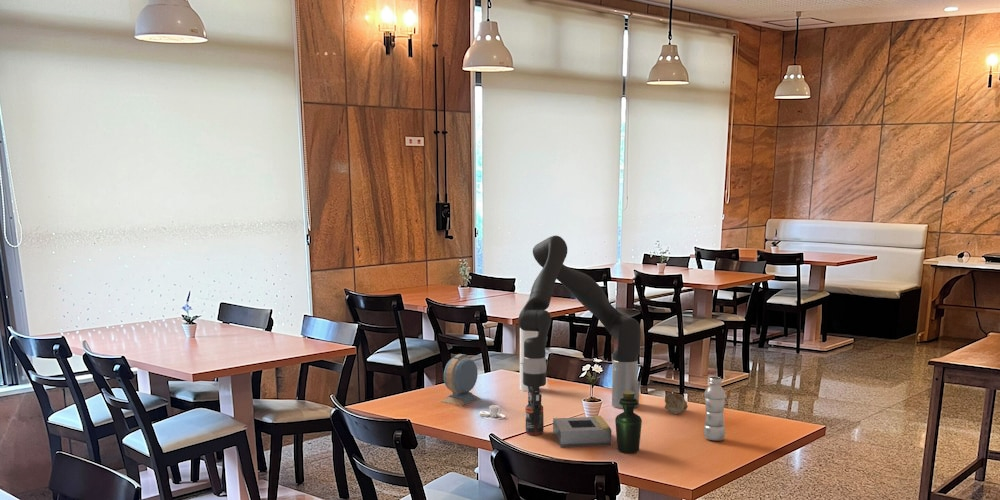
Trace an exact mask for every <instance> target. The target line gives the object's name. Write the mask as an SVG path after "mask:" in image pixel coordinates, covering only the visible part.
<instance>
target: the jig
mask: <svg viewBox="0 0 1000 500" xmlns="http://www.w3.org/2000/svg"><path fill="white" fill-rule="evenodd" d="M612 431H613V430H612V428H611V427H610V425H609V424H608V423H607V422H606V420H605V419H604V418H603V416H602V415H593V416H589V417H588V416H585V417H556V418H554V417H553V420H552V434H553V436H554V437H555V438H554V439H556V441H557V443H558V445H559V447H560V448H575V447H577V448H578V447H580V448H582V447H602V446H603V447H605V446H612Z"/></svg>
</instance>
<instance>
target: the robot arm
mask: <svg viewBox="0 0 1000 500" xmlns="http://www.w3.org/2000/svg"><path fill="white" fill-rule="evenodd" d="M532 255H533V258H534V260H535V261H536V262H537V264H538V265H539V266H541V267H542V268H541V270H540V272H539V274H538V275H537V276H536V278H535V280H534V282H533V283H532V287H531V289H530V295H529V297H528V300H527V302H526V303H525V305H524V306H523V307H522V309H521V310H520V313H519V315H518V319H517V323H518V327H519V329H520V328H521V329H522V330H524V331H538V336H537V337H533V338H528V339H526V340H525V341H524V361H523V384H524V385H525V386H528V391H527V394H528V395H527V400H528V399H529V398H530V405H531V406H532V422H533V424H539V415H540V412H541V405H542V397H543V396H542V390H541V389H540V388H541V387H544V386H545V385H547V359H546V345H547V339H548V335H549V330H550V327H551V323H552V316H551V314H550V312H549V311H548V310H547V309H548V308H549V307H550V303H551V299H552V295H553V291H554V287H555V283H556V280H557V281H559V283H561V284H562V285H563V286H564V287H565V288H566V289H567V290H568V291H569V292H570V293H571V294H572V296H573V297H574V298H575V299H576V300H578V302H579V303H580V304H581V305H582V306H583V307H584V308H585V309H587V310H588V311H589V312H590V313H591V314H592V315H594V317H595V318H596V319H597V320H599V321H600V323H601V324H602V325H603V327H604V328H605V329H606V331H607V332H608V333H609V334H610V335H611V336H612V338H614V339H616V340H617V347H616V348H617V349H616V350H613V352H612V362H611V363H612V365H611V366H612V367H611V370H612V373H611V381H612V382H611V406H612V407H615V408H618V409H623V406H622V405H621V404H619V402H620V399H621V398H624V397H623V391H633V392H635V396H634V399H637V401H638V405H636V406H635V408H639V407H640V403H639V402H640V381H639V380H638V370H639V369H638V368H639V367H638V365H639V364H638V363H639V361H638V360H639V359H638V358H639V355H640V351H641V339H642V331H641V324H640V323H639V320H636V318H632V317H631V316H626V315H624V314H622V313H621V312H620V311H618V309H616V308H615V307H614V306H613V305H612V304H611V302H610V301H609V299H608V296H607V294H606V293H605V291H604V289H603V288H602V287H601V285H599V283H597V282H596V281H595V280H594V278H592V276H590V275H588V274H586V273H584V272H581V271H579V270H576V269H573V268H570V267H568V266H566V265H565V264H564V262H565V261H566V258H567V255H568V245H567V243H566V241H565V239H563V237H562V236H561V235H560V236H559V235H552V236H549V237H547V238H546V239H544V240H542V241H540V242H538V243H537V244H535V245H534V247H533V248H532ZM532 401H533V402H532ZM535 406H538V408H535Z"/></svg>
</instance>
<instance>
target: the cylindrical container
mask: <svg viewBox="0 0 1000 500" xmlns="http://www.w3.org/2000/svg"><path fill="white" fill-rule="evenodd" d="M538 335H539V332H538V331H524V330H522V329H521V328H520V327H519V390H520V391H523V392H528V386H525V385H524V384H523V361H524V341H525V340H526V339H528V338H533V337H537V336H538Z"/></svg>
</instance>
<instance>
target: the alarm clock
mask: <svg viewBox="0 0 1000 500" xmlns="http://www.w3.org/2000/svg"><path fill="white" fill-rule="evenodd" d="M478 374H479V373H478V367H477V364H476V363H475V362H474V360H473V359H471V358H470V357H469V356H468V355H467V354H462V353H458V354H456V355H455V356H454V357H452V358H450V359H449V360H448V361H447V363H446V365H445V368H444V371H443V382H444V385H445V387H446V388H447V389H448V390H449V391H451V392H452V393H451V394H449V396H446V398H444V399H442V400H441V401H440V402H441V403H445V404H449V405H450V404H451V405H454V404H455V406H459V405H462V406H465V405H467V404H470V403H473V402H475V401H476V402H477V401H479V400H481V397H479V396H478V395H475V394H473V393H472V392H470V391H471V390H472V389H474V387H475V385H476V383H477V380H478ZM464 404H465V405H464Z"/></svg>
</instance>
